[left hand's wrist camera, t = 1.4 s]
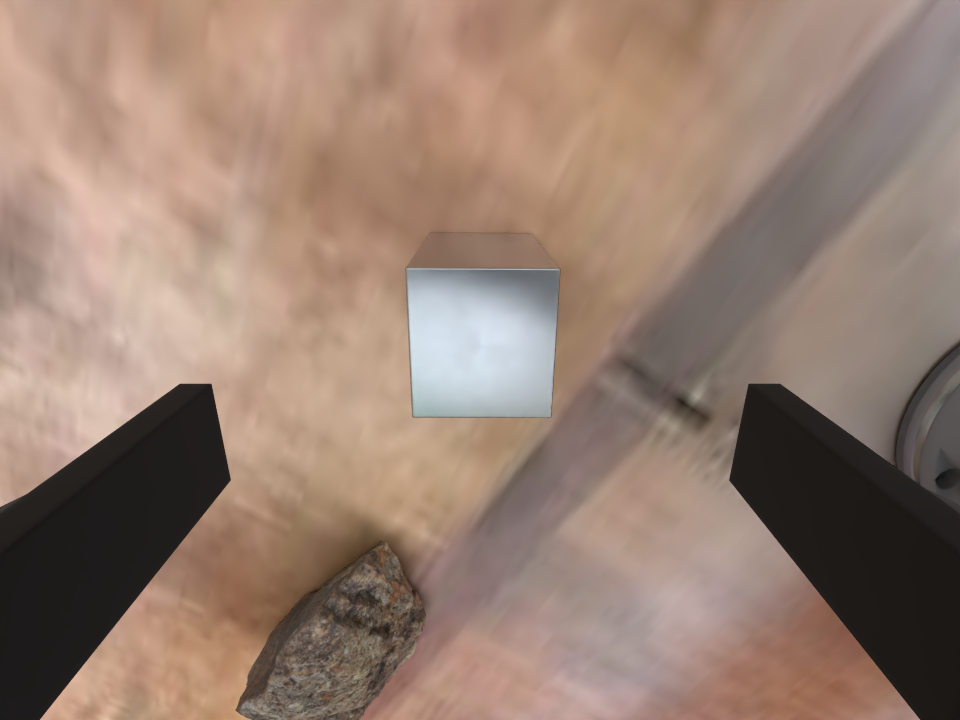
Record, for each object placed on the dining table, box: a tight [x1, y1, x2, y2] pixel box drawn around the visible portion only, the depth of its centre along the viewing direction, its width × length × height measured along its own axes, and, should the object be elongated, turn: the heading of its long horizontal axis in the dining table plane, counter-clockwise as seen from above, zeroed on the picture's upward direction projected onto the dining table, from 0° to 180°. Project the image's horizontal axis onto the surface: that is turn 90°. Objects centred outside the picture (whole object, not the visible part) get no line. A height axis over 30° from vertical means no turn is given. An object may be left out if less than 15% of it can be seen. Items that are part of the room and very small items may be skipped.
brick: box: [405, 233, 560, 418], centre depth 23 cm, size 5×6×10 cm
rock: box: [236, 541, 426, 720], centre depth 32 cm, size 14×9×10 cm
